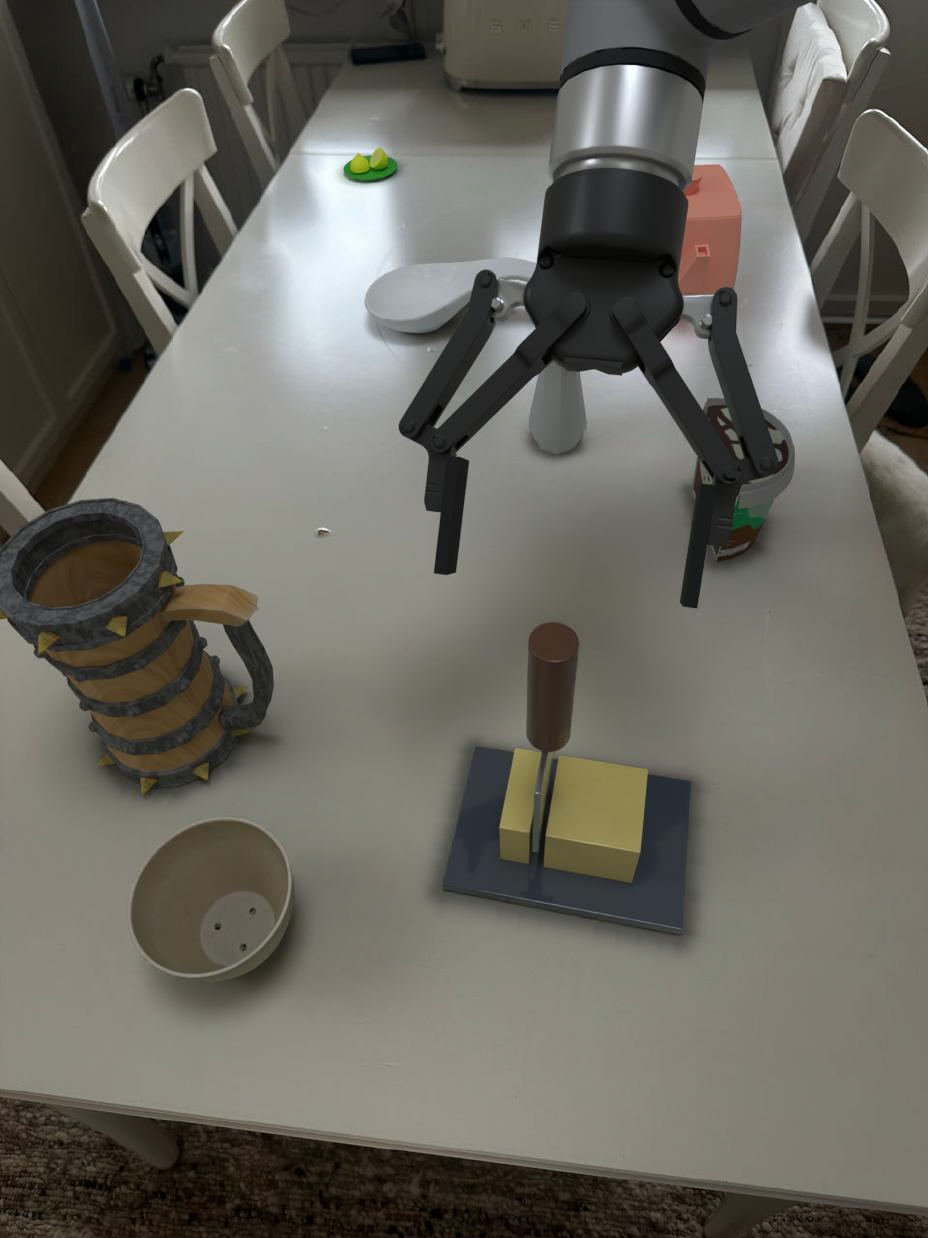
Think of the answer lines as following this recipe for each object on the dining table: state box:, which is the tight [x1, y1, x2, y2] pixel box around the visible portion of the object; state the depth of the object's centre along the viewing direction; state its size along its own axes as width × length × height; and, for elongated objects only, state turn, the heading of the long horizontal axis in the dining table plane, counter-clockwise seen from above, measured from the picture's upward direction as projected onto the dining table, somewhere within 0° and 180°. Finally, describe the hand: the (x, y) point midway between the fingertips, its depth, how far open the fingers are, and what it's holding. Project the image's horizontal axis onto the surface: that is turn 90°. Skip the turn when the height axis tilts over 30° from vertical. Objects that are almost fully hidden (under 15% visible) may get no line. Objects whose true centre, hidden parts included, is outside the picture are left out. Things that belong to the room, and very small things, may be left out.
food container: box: [691, 397, 796, 563], centre depth 76 cm, size 12×6×10 cm, turn 4°
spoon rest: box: [364, 256, 537, 334], centre depth 100 cm, size 24×12×7 cm, turn 84°
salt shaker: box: [528, 360, 588, 455], centre depth 83 cm, size 6×6×13 cm
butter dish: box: [442, 745, 692, 936], centre depth 59 cm, size 16×11×6 cm
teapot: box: [678, 163, 743, 296], centre depth 98 cm, size 22×13×14 cm, turn 0°
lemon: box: [343, 147, 398, 181], centre depth 127 cm, size 8×8×3 cm
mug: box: [0, 497, 275, 796], centre depth 60 cm, size 13×17×20 cm
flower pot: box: [126, 815, 295, 983], centre depth 55 cm, size 10×10×7 cm
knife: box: [525, 621, 580, 852], centre depth 51 cm, size 3×8×17 cm, turn 168°
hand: (563, 589), depth 48 cm, fingers open, 13 cm apart
